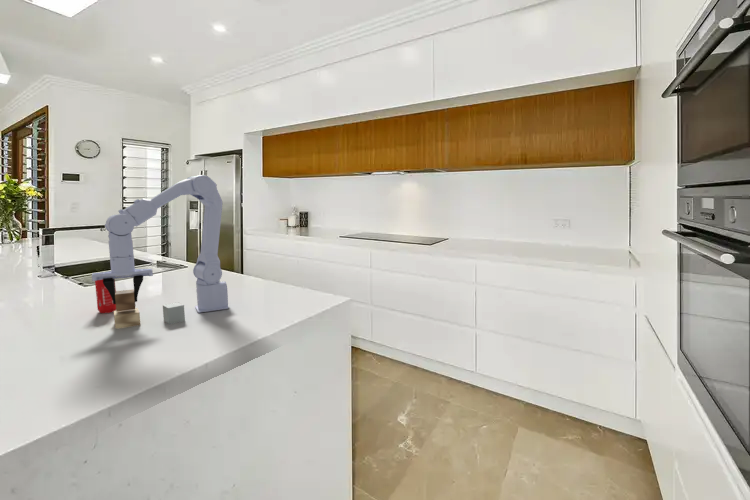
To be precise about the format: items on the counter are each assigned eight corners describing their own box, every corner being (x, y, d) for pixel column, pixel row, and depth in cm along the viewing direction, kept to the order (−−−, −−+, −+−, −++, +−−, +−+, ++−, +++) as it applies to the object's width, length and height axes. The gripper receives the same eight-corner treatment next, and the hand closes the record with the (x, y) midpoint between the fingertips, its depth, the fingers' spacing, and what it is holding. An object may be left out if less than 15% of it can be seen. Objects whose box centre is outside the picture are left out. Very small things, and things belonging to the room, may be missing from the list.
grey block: (179, 317, 117) (178, 302, 116) (185, 321, 114) (184, 305, 113) (163, 321, 114) (162, 305, 113) (168, 324, 111) (167, 308, 110)
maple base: (138, 320, 115) (137, 307, 114) (140, 325, 110) (139, 312, 109) (114, 323, 111) (113, 310, 111) (115, 329, 106) (114, 316, 106)
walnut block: (135, 305, 113) (134, 289, 112) (135, 309, 109) (133, 292, 108) (117, 307, 111) (115, 291, 110) (116, 311, 107) (114, 294, 106)
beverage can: (107, 314, 120) (104, 277, 118) (93, 313, 121) (90, 276, 119) (121, 309, 125) (118, 274, 123) (108, 308, 126) (105, 273, 124)
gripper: (151, 252, 115) (154, 296, 117) (92, 256, 107) (96, 302, 109) (151, 255, 109) (154, 301, 111) (89, 259, 101) (93, 308, 103)
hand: (125, 302), depth 110 cm, fingers closed on walnut block, 4 cm apart
